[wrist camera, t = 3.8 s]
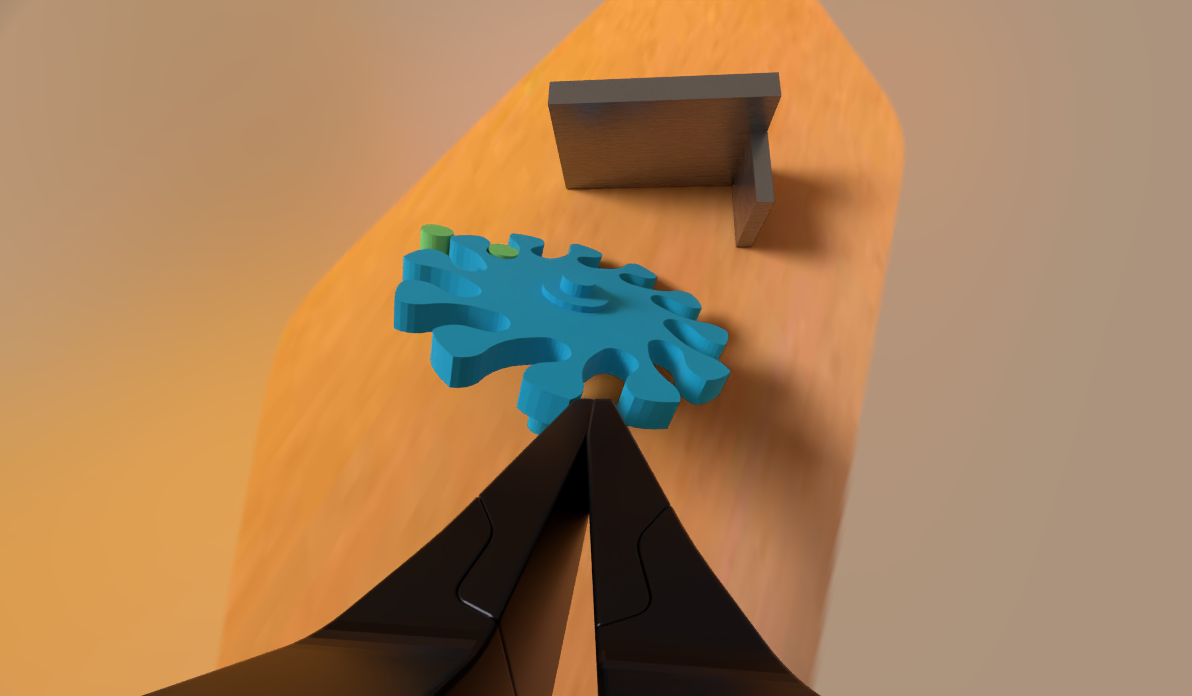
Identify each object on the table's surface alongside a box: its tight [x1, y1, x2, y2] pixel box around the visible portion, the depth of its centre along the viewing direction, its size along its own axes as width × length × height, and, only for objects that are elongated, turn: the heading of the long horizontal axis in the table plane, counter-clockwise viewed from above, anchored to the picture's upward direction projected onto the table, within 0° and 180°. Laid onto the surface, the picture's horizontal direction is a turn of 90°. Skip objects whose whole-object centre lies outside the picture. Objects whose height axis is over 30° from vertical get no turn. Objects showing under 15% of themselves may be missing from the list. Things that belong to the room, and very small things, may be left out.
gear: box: [394, 225, 731, 435], centre depth 14 cm, size 11×6×10 cm
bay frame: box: [548, 72, 781, 247], centre depth 16 cm, size 4×8×4 cm, turn 88°
